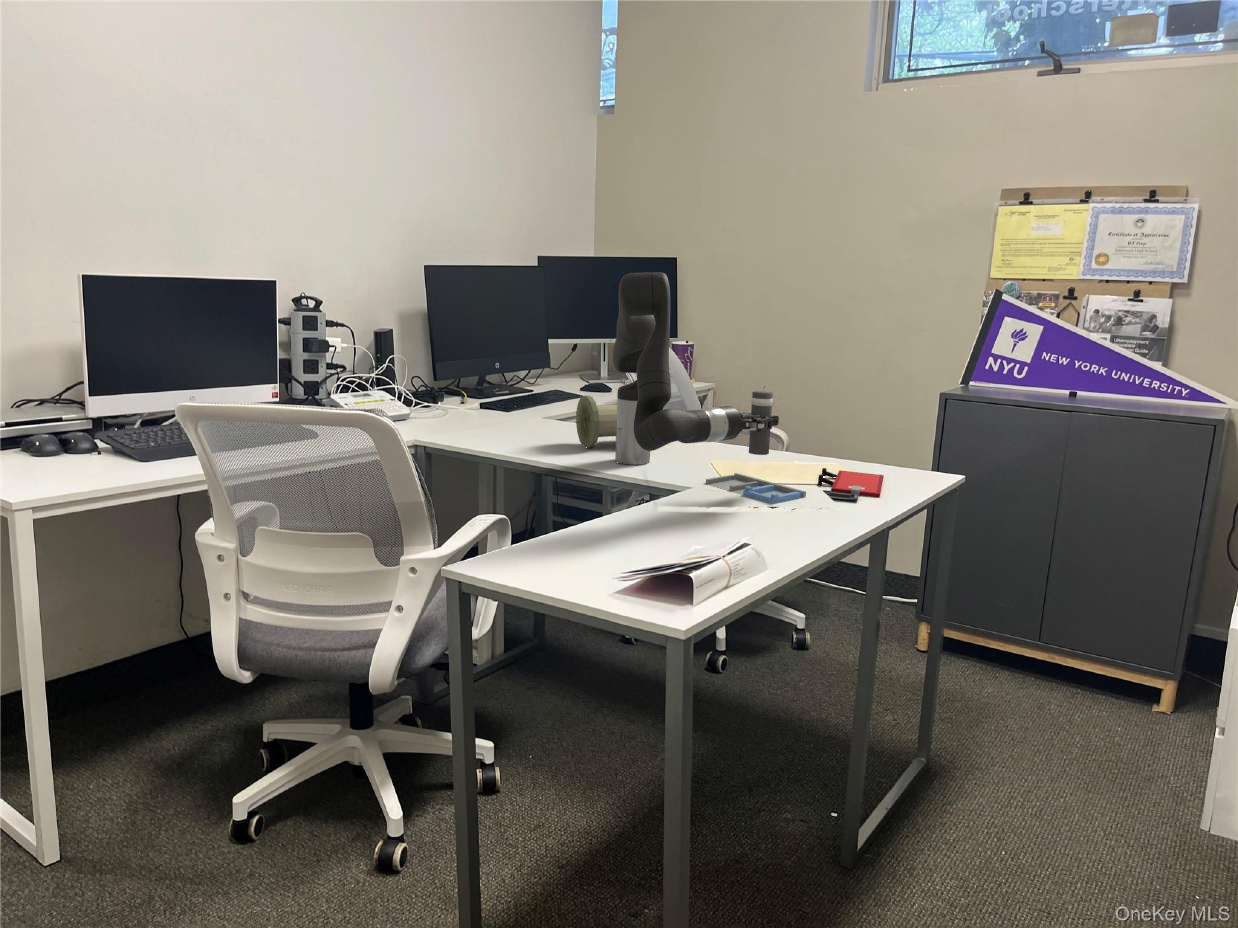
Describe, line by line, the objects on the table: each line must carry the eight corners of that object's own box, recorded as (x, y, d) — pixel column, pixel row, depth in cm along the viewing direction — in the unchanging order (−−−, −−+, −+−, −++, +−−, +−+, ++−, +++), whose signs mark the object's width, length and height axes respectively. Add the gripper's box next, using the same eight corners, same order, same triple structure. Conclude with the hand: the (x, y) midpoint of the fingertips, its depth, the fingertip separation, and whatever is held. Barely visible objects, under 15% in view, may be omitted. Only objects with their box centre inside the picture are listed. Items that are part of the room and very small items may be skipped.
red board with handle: (811, 498, 207) (878, 507, 202) (812, 487, 206) (879, 495, 202) (824, 473, 235) (883, 480, 230) (825, 463, 234) (884, 469, 230)
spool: (593, 452, 253) (594, 400, 249) (575, 442, 266) (576, 392, 263) (646, 449, 259) (648, 398, 256) (626, 439, 272) (627, 391, 269)
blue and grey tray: (704, 488, 214) (704, 476, 213) (736, 482, 220) (737, 470, 220) (772, 508, 197) (773, 495, 196) (805, 501, 204) (806, 488, 203)
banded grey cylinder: (750, 454, 203) (754, 393, 200) (746, 450, 207) (750, 391, 204) (771, 455, 203) (775, 394, 200) (766, 451, 208) (770, 391, 205)
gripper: (739, 411, 189) (793, 406, 199) (693, 403, 200) (747, 398, 210) (737, 446, 190) (791, 439, 200) (692, 436, 201) (745, 430, 211)
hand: (768, 418), depth 205 cm, fingers closed on banded grey cylinder, 4 cm apart
